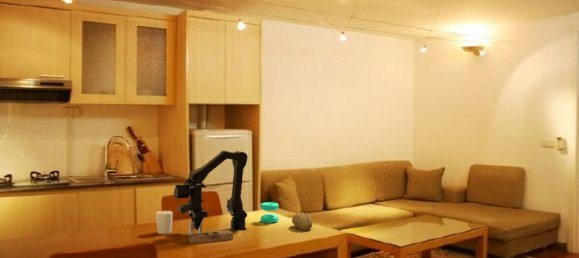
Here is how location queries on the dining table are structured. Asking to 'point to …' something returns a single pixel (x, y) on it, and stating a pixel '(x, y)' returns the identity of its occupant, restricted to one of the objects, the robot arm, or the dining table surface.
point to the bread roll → (302, 221)
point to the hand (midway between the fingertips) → (195, 229)
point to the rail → (210, 236)
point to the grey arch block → (192, 224)
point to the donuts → (269, 217)
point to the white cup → (164, 222)
